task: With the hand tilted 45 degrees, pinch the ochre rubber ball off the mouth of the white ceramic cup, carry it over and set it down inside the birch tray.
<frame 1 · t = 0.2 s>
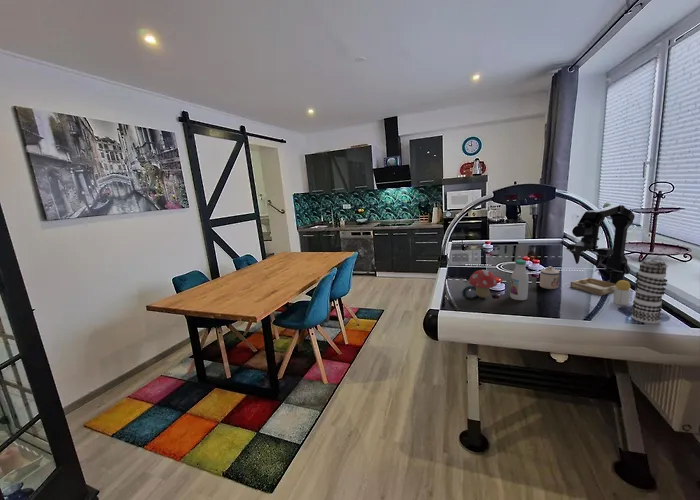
hand: (586, 265, 152), 14 cm above the table, tool pointing down, fingers open, 9 cm apart
ball: (623, 285, 137), point 9 cm above the table, touching cup
decorative mushroom: (482, 297, 156), on the table
teacup with lid: (549, 286, 166), on the table
cup: (620, 303, 139), on the table
milk bottle: (518, 298, 153), on the table
tray: (594, 288, 159), on the table
decorative candle: (644, 319, 123), on the table
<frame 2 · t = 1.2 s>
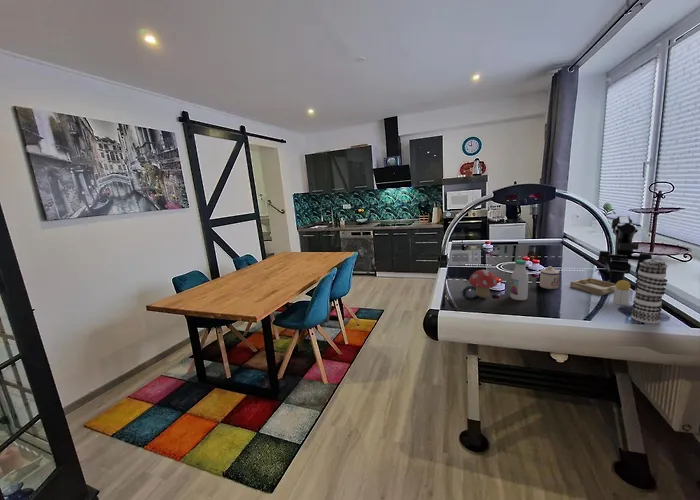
hand: (623, 272, 142), 13 cm above the table, tool tilted 45°, fingers open, 9 cm apart
nothing on the table moved.
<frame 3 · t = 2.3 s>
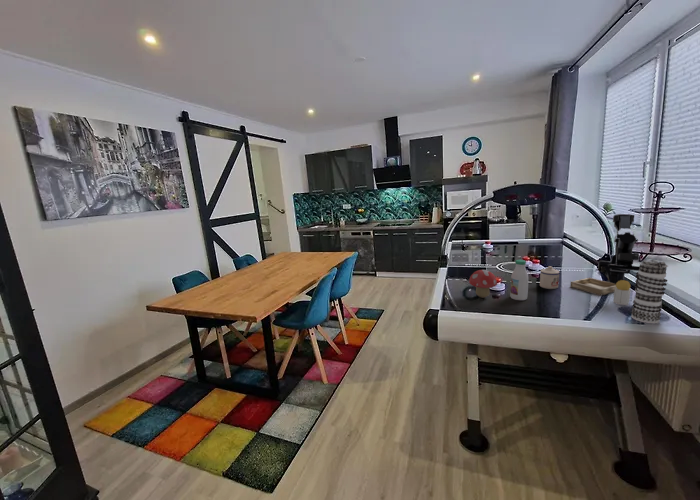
hand: (623, 283, 138), 10 cm above the table, tool tilted 45°, fingers open, 9 cm apart
nothing on the table moved.
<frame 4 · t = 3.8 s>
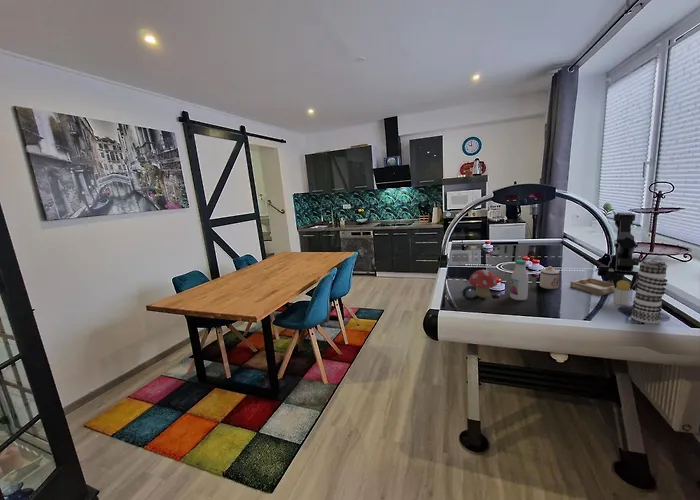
hand: (623, 288, 137), 8 cm above the table, tool tilted 45°, fingers closed on ball, 5 cm apart
ball: (623, 285, 137), point 9 cm above the table, touching cup, gripper
everything else where it was.
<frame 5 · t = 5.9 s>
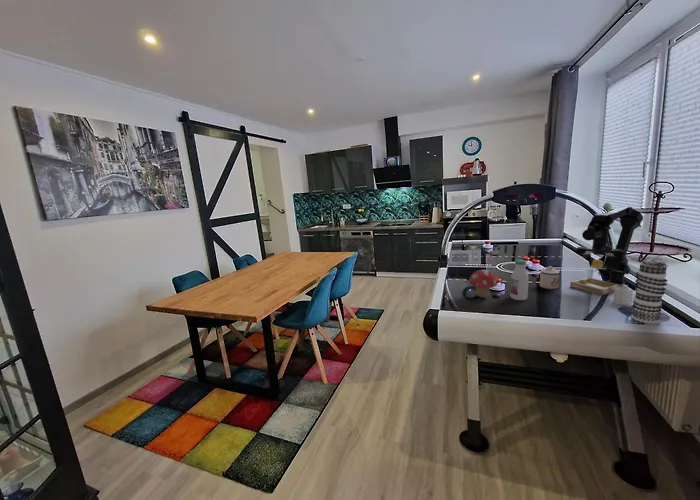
hand: (597, 267, 156), 12 cm above the table, tool pointing down, fingers closed on ball, 5 cm apart
ball: (597, 264, 156), point 14 cm above the table, tilted 45°, touching gripper
everything else where it was.
when the fingers open (3 cm above the table, at t = 7.3 s): ball drops 2 cm, resting on tray.
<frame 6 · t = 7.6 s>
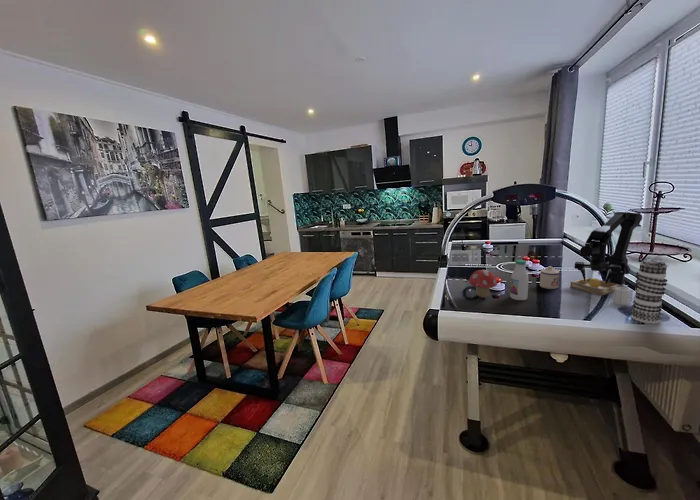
hand: (595, 282, 158), 3 cm above the table, tool pointing down, fingers open, 8 cm apart
ball: (594, 283, 158), point 3 cm above the table, tilted 45°, touching tray
everything else where it was.
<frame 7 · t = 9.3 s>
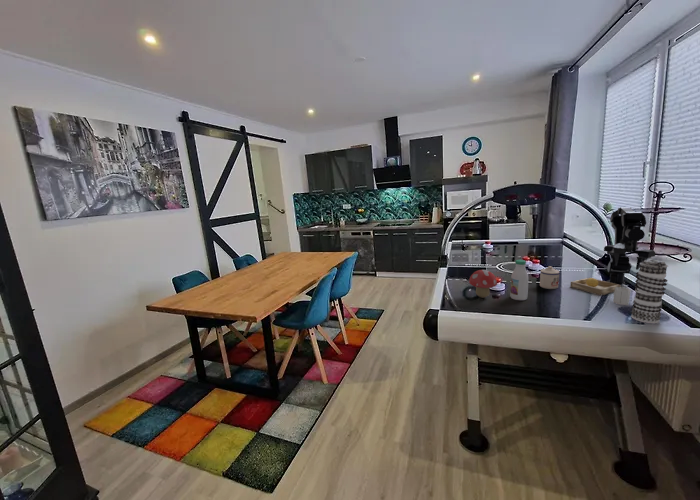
hand: (626, 267, 149), 13 cm above the table, tool pointing down, fingers open, 9 cm apart
ball: (592, 282, 159), point 3 cm above the table, tilted 52°, touching tray
everything else where it was.
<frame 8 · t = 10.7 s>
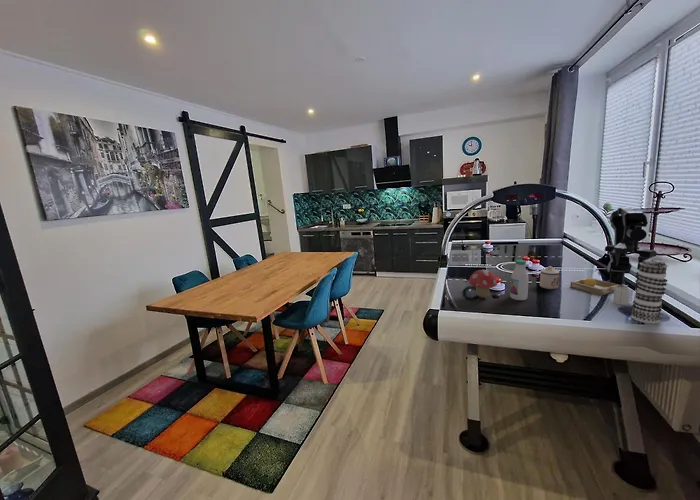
hand: (627, 267, 149), 13 cm above the table, tool pointing down, fingers open, 9 cm apart
ball: (590, 282, 159), point 3 cm above the table, tilted 62°, touching tray
everything else where it was.
at the end: ball inside the target area on the tray (2.0 cm from its centre), point 3.1 cm above the tray's base; the gripper is holding nothing; ball touching tray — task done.
